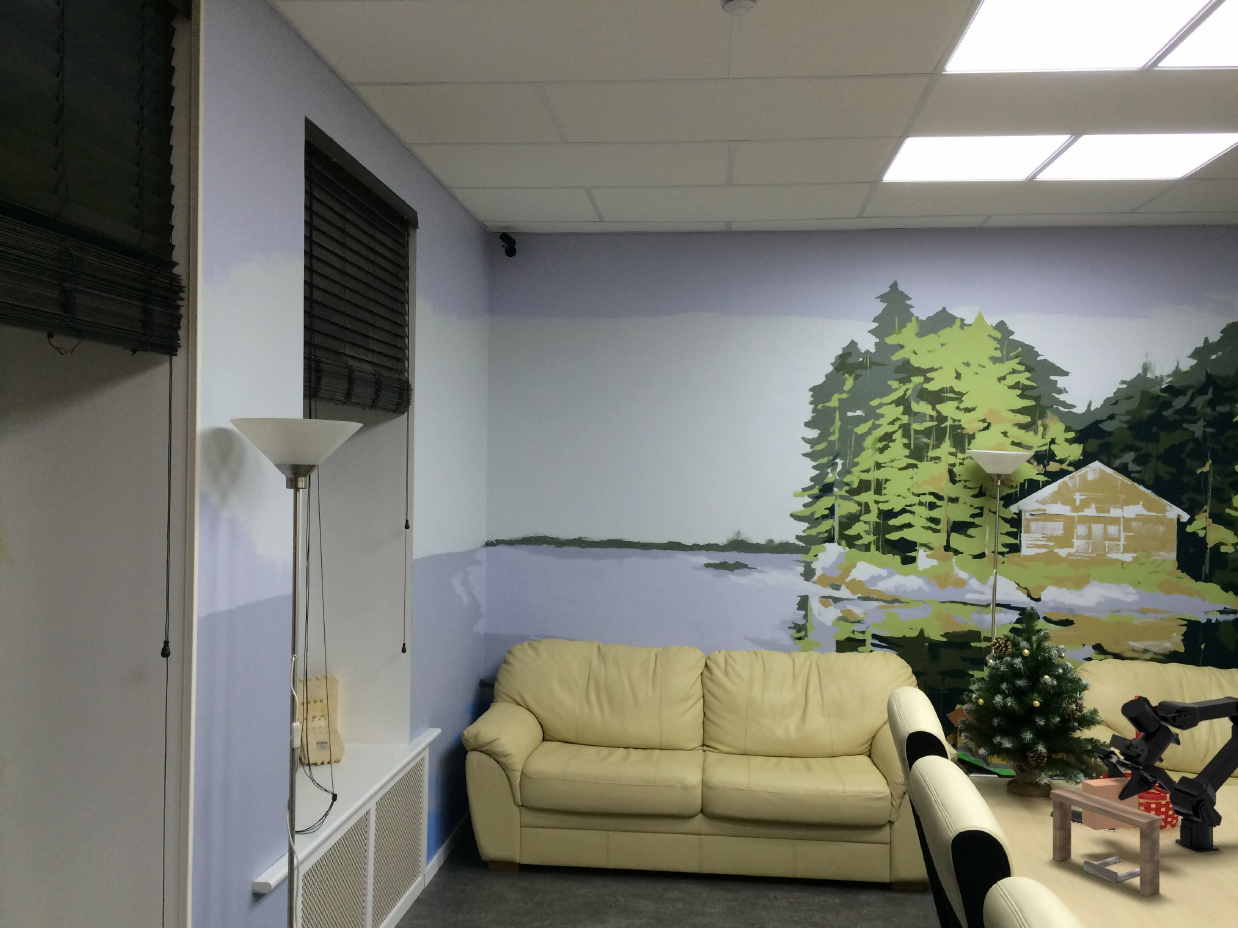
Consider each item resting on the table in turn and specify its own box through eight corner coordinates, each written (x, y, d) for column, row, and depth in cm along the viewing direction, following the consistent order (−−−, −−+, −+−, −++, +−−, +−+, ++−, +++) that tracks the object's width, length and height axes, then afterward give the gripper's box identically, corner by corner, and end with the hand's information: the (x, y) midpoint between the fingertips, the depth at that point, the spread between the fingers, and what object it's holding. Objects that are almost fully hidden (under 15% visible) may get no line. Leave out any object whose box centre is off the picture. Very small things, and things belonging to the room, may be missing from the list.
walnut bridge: (1087, 848, 210) (1087, 782, 210) (1182, 884, 191) (1182, 811, 191) (1049, 859, 203) (1050, 790, 203) (1144, 897, 184) (1144, 822, 185)
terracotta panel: (1124, 819, 210) (1124, 777, 211) (1138, 825, 207) (1138, 782, 207) (1082, 823, 208) (1081, 780, 208) (1095, 829, 204) (1095, 785, 204)
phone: (1059, 806, 237) (1121, 821, 227) (1059, 810, 237) (1121, 825, 227) (1049, 813, 231) (1113, 828, 221) (1049, 817, 231) (1113, 833, 221)
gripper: (1100, 712, 218) (1062, 760, 215) (1164, 733, 200) (1123, 785, 197) (1127, 743, 220) (1089, 791, 217) (1192, 766, 202) (1153, 818, 199)
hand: (1112, 795), depth 207 cm, fingers closed on terracotta panel, 4 cm apart
